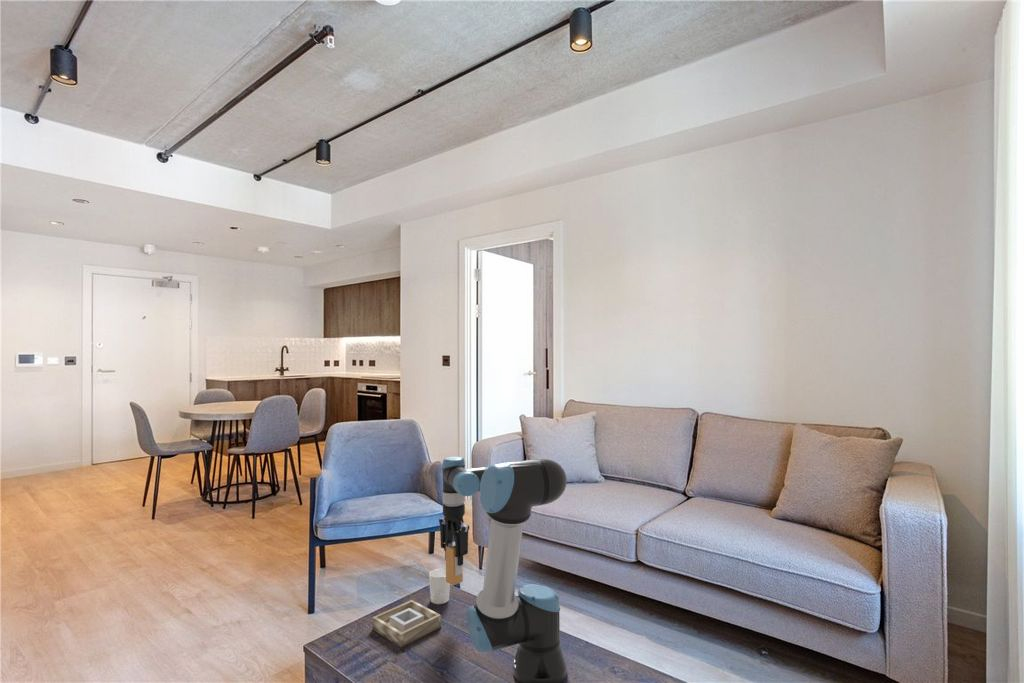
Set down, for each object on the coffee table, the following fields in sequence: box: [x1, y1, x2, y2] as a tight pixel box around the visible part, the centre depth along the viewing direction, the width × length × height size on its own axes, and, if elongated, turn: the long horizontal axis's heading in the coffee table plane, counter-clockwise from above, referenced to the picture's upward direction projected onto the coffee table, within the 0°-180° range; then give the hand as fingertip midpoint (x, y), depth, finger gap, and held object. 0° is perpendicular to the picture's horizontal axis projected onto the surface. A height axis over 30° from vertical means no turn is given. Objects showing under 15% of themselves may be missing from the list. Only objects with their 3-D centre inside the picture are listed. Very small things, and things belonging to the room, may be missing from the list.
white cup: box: [428, 568, 451, 605], centre depth 189 cm, size 8×8×10 cm
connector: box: [445, 541, 464, 586], centre depth 174 cm, size 4×4×13 cm
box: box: [371, 599, 442, 648], centre depth 170 cm, size 16×16×4 cm
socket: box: [390, 608, 424, 632], centre depth 170 cm, size 8×8×3 cm
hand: (454, 572), depth 174 cm, fingers closed on connector, 4 cm apart
